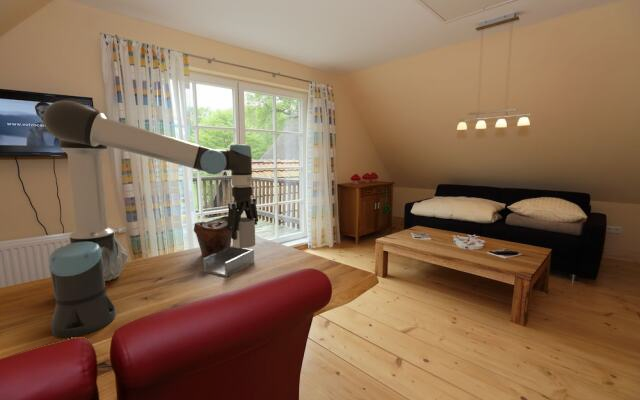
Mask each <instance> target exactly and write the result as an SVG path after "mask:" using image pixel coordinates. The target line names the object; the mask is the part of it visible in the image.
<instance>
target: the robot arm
mask: <svg viewBox="0 0 640 400" xmlns="http://www.w3.org/2000/svg"><path fill="white" fill-rule="evenodd" d="M42 120H43V124H44V127H45V128H46V130H47V131H48V133H49V134H51V135H52V136H53V137H54V138H57V139H58V140H59V146H60V147H59V148H60V149H61V150H62V151H63V152H64V153H66V154H67V161H68V170H69V171H68V172H69V179H70V181H69V182H70V190H71V200H72V201H71V202H72V211H73V220H74V221H73V222H74V230H73V231H72V232H71V233H70V234H69V243H68V244H66V245H64V246H60V247H58V248H56V249H55V250H53V251H52V252H51V254H50V255H49V257H48V258H49V264H48V268H49V270H50V271H49V272H50V277H51V281H52V282H51V283H52V288H53V289H52V290H53V294H54V300H55V308H54V311H53V315H52V319H51V324H50V329H51V334H52V336H54V337H56V338H74V337H75V338H76V337H80V336H84V335H87V334H91V333H94V332H95V331H98V330H100V329H102V328H104V327H105V326H108V325H109V324H110V323H111V322H113V320H114V319H115V318H116V315H117V313H116V307H115V305H114V303H113V302H112V300H111V298H110V297H109V295H108V293H107V288H106V283H105V282H106V281H105V280H104V273H105V271H106V270H107V269H108V268H109V267H110V266H111V265H112V263H113V262H114V261H115V260H116V258H117V255H118V252H119V245H118V243H117V241H116V239H117V238H116V237H115V231H114V229H112V228H111V227H109V224H108V210H107V200H106V198H107V197H106V187H105V175H104V163H103V162H104V161H103V154H104V153H105V152H107V151H108V147H110V148H113V149H117V150H121V151H125V152H129V153H132V154H135V155H141V156H145V157H148V158H152V159H156V160H160V161H164V162H168V163H172V164H176V165H179V166H182V167H187V168H191V169H195V170H197V171H199V172H200V171H202V172H204V173H207V174H210V175H218V174H221V173H222V172H224V171H230V173H231V176H230V177H231V179H230V181H231V186H232V187H231V195H232V197H233V202H229V203H228V204H227V208H228V212H227V216H228V222H227V230H231V232H232V239H231V240H232V246H233V247H236V248H240V236H239V231H238V226H239V222H240V218H241V217H242V214H244V212H245V216H246V217H247V218H248V219H250V220H251V219H252V218H254V219H255V226H256V225H258V222H259V217H258V209H257V199H256V198H253V197H252V196H253V191H254V190H253V186H252V185H253V175H252V174H253V169H252V167H253V165H252V164H253V159H252V157H253V156H252V148H251V145H250V144H243V143H242V144H240V143H239V144H235V143H232V144H230V146H229V149H215V148H214V149H213V148H210V147H206V146H203V145H199V144H196V143H192V142H189V141H186V140H182V139H179V138H176V137H172V136H170V135H169V136H168V135H165V134H162V133H159V132H155V131H153V130H148V129H145V128H141V127H138V126H135V125H131V124H127V123H125V122H122V121H121V122H120V121H118V120H114V119H111V118H107V117H106V116H105V113H102V112H101V111H99V110H98V109H96V108H95V107H92V106H90V105H87V104H86V105H85V104H82V103H79V102H77V101H74V100H68V99H67V100H66V99H65V100H64V99H63V100H58V101H54V102H53V103H51V104H49V105H48V106H47V107H46V108H45V109H44V113H43V117H42ZM251 197H252V198H251ZM234 227H235V228H234ZM114 237H115V238H116V239H115V238H114Z"/></svg>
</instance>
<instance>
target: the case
mask: <svg viewBox="0 0 640 400" xmlns="http://www.w3.org/2000/svg"><path fill="white" fill-rule="evenodd" d="M227 222H228V215H226V216H221V217H219V218H215V219H212V220H208V221H200V222H194V228H193V232H194V233H195V235H196V238H197V242H198V245H199V249H200V252H201V256H202V257H203V258H205V257H208V256H210V255H212V254H215V253H217V252H219V251H222V250H224V249H226V248H229V247H231V244H232V240H233V239H232V232H231V230H227Z"/></svg>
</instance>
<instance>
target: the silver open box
mask: <svg viewBox="0 0 640 400" xmlns="http://www.w3.org/2000/svg"><path fill="white" fill-rule="evenodd" d="M202 260H203V273H207V274H213V275H216V276H221V277H225V278H229V277H230V276H232V275H234V274H235V273H237V272H239V271H241V270H243V269H244V268H246V267H248V266H250V265H252V264H253V263H255V249H252V248H236V247H233V245H232V246H230V247H229V248H226V249H224V250H222V251H219V252H217V253H215V254H212V255H210V256H208V257H203V258H202Z"/></svg>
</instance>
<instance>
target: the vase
mask: <svg viewBox="0 0 640 400" xmlns="http://www.w3.org/2000/svg"><path fill="white" fill-rule="evenodd" d="M114 238H115V239H116V241H117V243H118V245H119V252H118V255H117V258H116V260H115V261H114V262H113V263H112V265H111V266H110V267H109V268H108V269H107V270H106V271H105V273H104V280H105V282H108V281H110V282H111V280H116V279H117V278H119V277H120V275H121V272H122V271H124V268H125V266H126V263H127V260H128V258H129V254H130V253H129V252H128V250H127V249H126V248H125V247H123V246H122V244H121V242H120V240H119V239H118V238H116V237H115V236H114Z"/></svg>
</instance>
